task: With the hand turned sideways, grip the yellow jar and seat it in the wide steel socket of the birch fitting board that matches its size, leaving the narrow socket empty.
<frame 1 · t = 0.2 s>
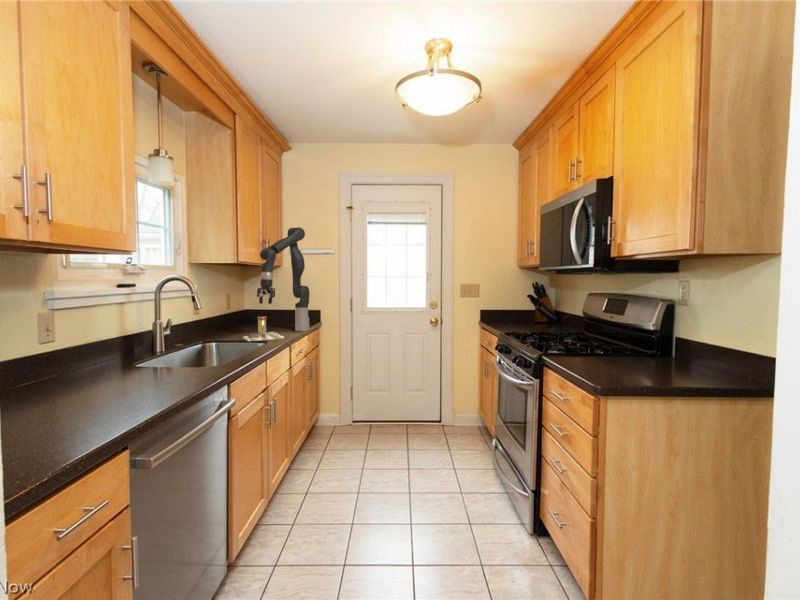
hand: (265, 303, 263), 21 cm above the counter, fingers open, 8 cm apart
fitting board: (263, 338, 254), on the counter
yellow jar: (262, 335, 268), on the counter
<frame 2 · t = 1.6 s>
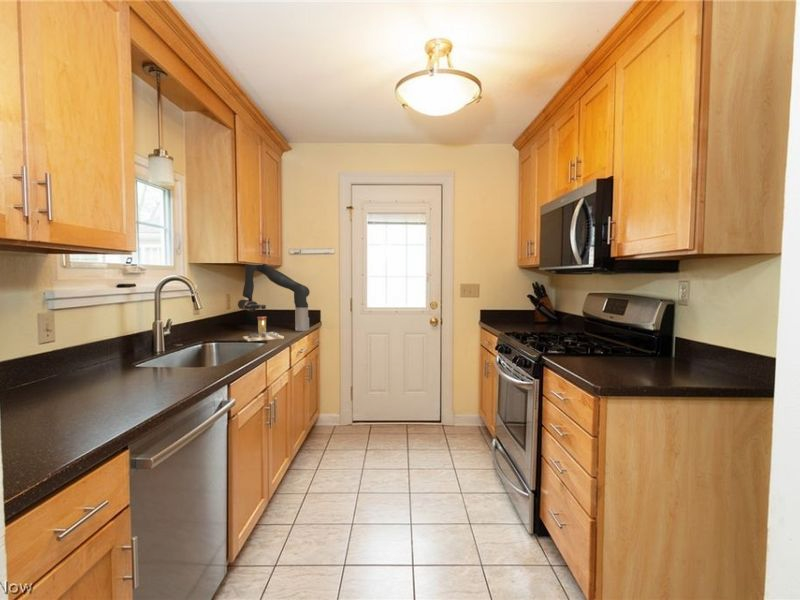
hand: (257, 307, 276), 18 cm above the counter, fingers open, 8 cm apart
nothing on the counter moved.
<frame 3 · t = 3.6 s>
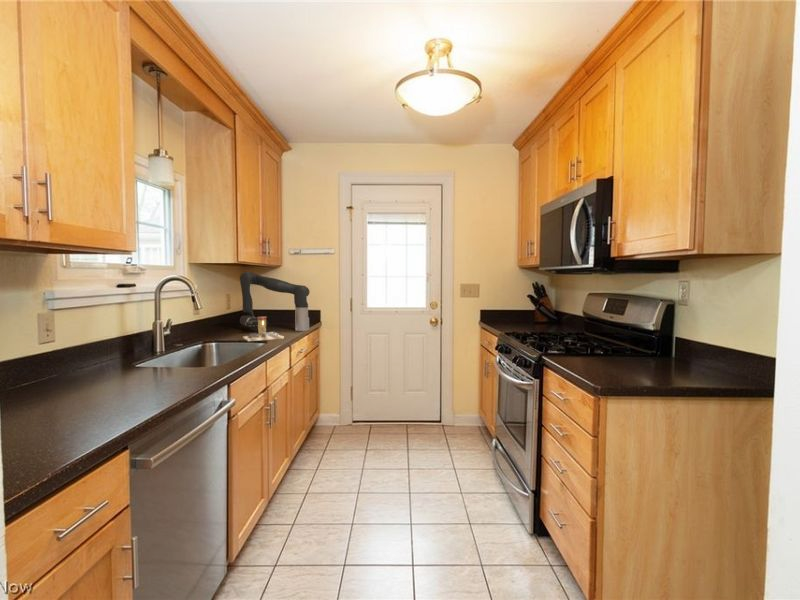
hand: (259, 324, 273), 7 cm above the counter, fingers open, 8 cm apart
nothing on the counter moved.
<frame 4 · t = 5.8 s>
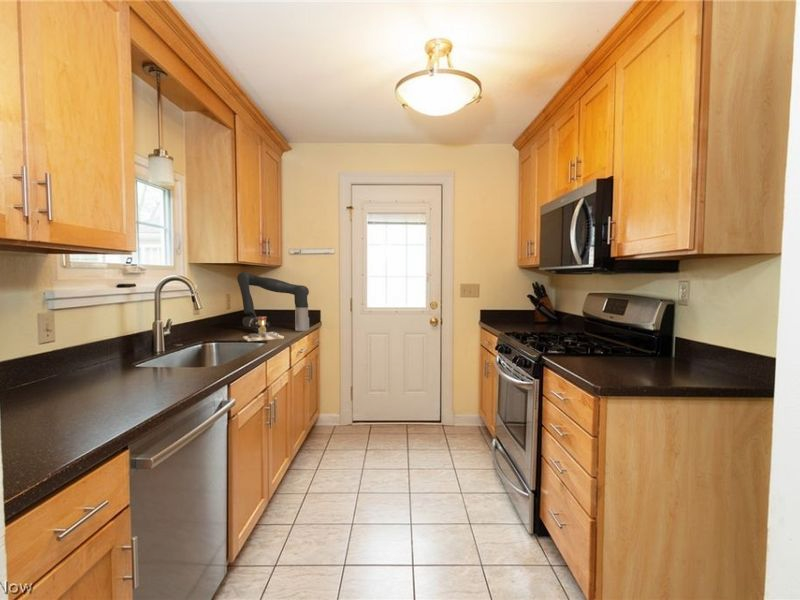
hand: (263, 325, 265), 7 cm above the counter, fingers closed on yellow jar, 5 cm apart
yellow jar: (262, 335, 268), on the counter, touching gripper
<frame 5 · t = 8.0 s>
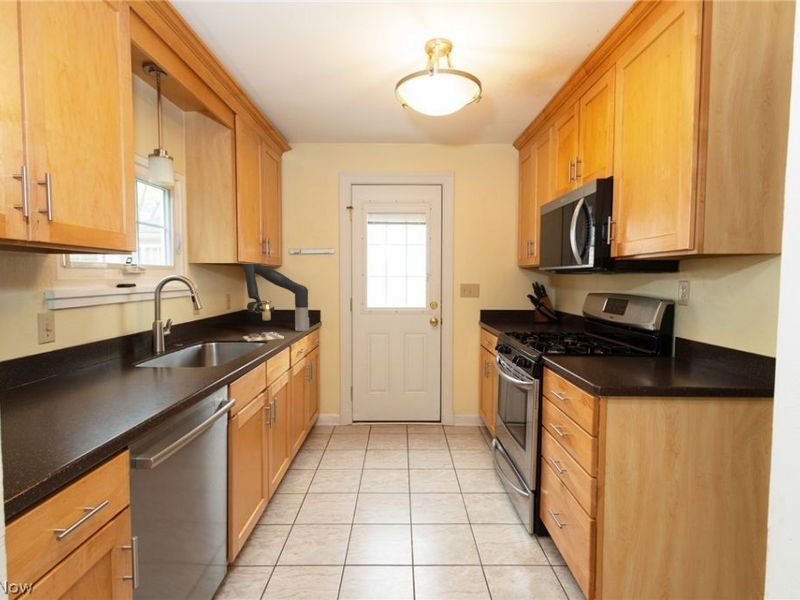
hand: (267, 310, 257), 18 cm above the counter, fingers closed on yellow jar, 5 cm apart
yellow jar: (266, 319, 259), point 11 cm above the counter, touching gripper
when the fingers open (9 cm above the counter, at t = 10.4 s): yellow jar drops 1 cm, resting on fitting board.
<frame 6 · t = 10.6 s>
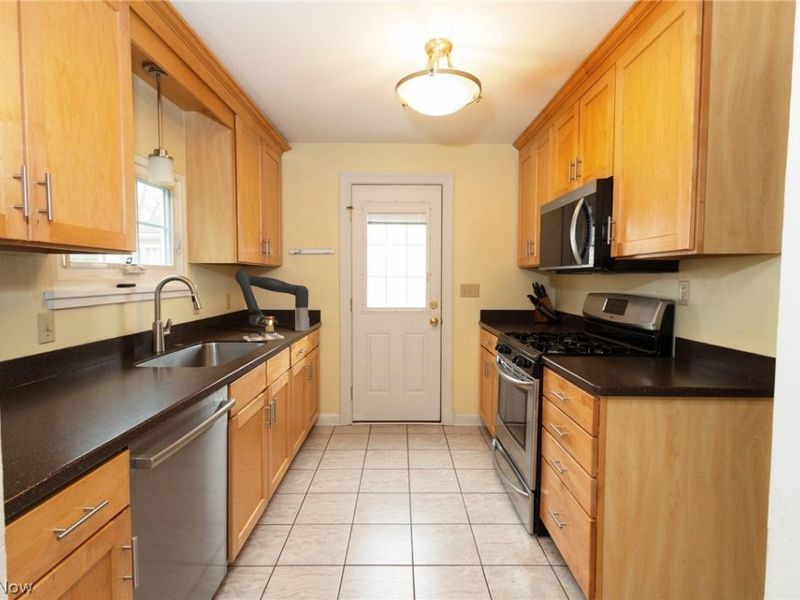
hand: (270, 323, 254), 9 cm above the counter, fingers open, 6 cm apart
yellow jar: (269, 336, 257), point 1 cm above the counter, touching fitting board
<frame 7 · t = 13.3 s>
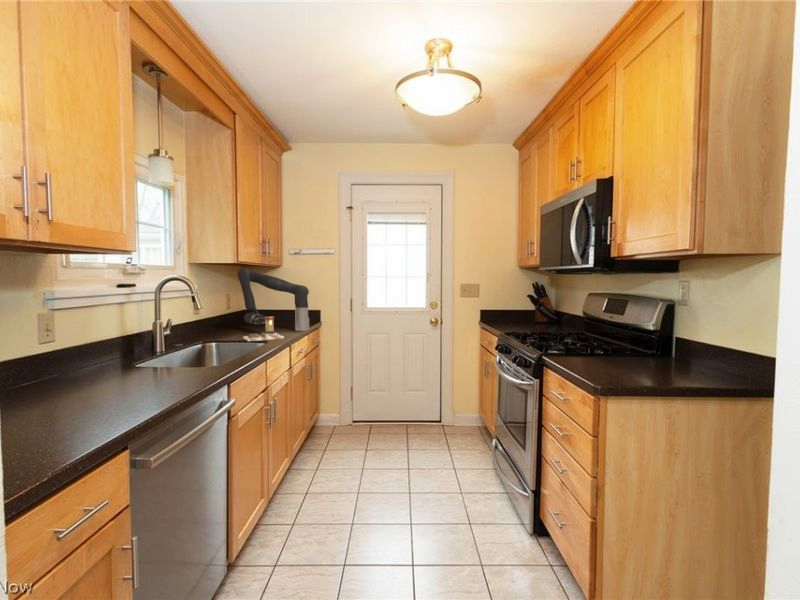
hand: (264, 321, 265), 10 cm above the counter, fingers open, 8 cm apart
nothing on the counter moved.
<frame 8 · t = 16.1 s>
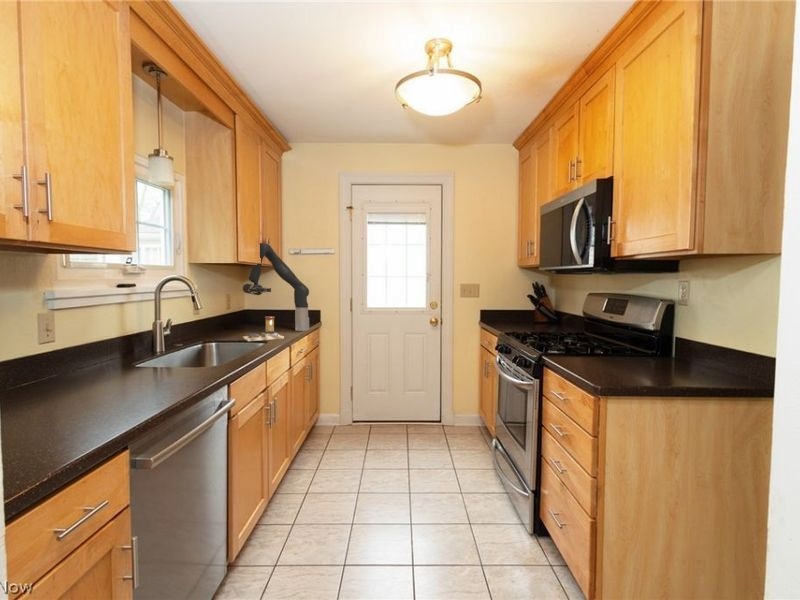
hand: (262, 290, 271), 30 cm above the counter, fingers open, 8 cm apart
nothing on the counter moved.
at the end: yellow jar 0.1 cm from the target spot on the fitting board, point 1.3 cm above the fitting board's base; yellow jar tilted 1°; the gripper is holding nothing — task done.
